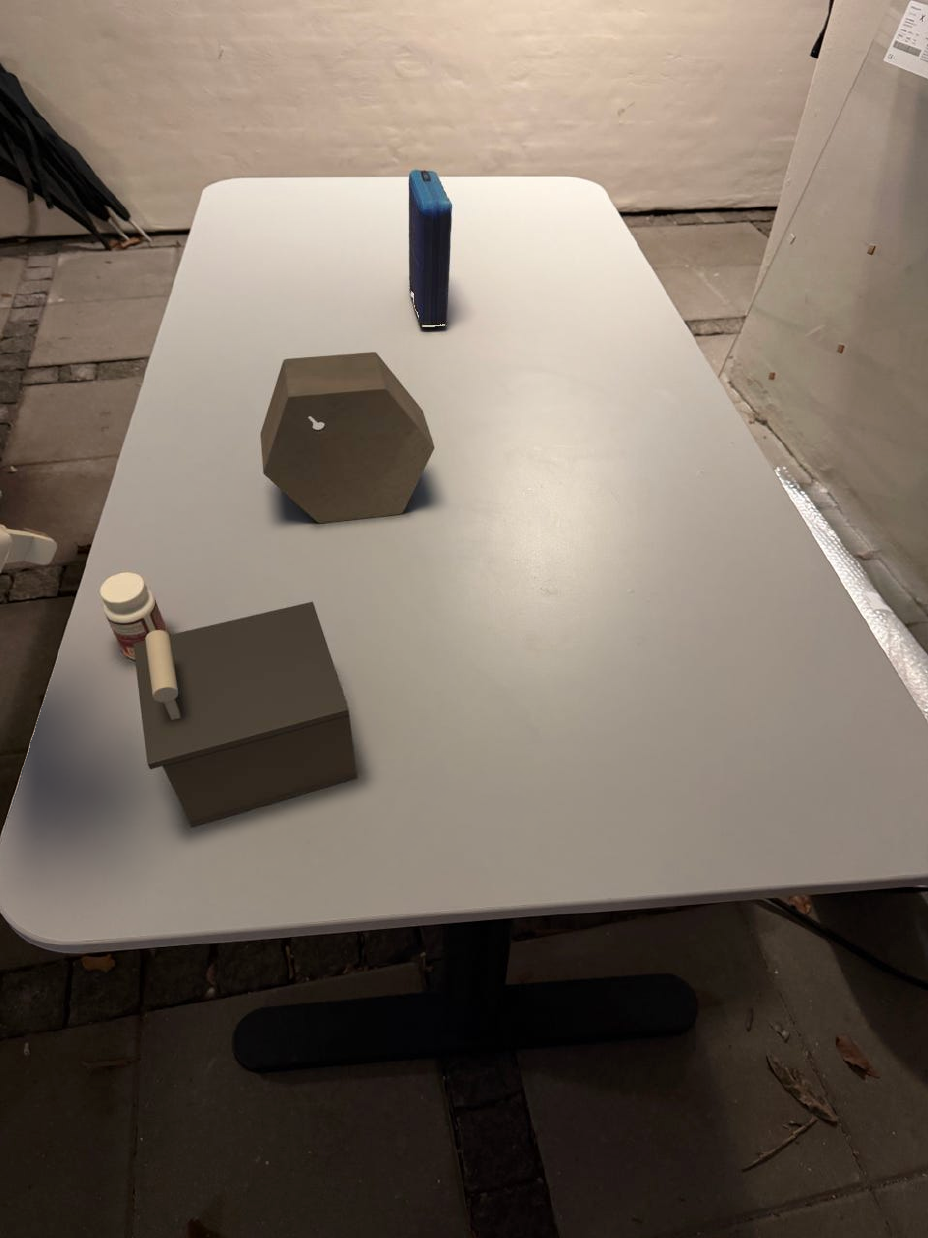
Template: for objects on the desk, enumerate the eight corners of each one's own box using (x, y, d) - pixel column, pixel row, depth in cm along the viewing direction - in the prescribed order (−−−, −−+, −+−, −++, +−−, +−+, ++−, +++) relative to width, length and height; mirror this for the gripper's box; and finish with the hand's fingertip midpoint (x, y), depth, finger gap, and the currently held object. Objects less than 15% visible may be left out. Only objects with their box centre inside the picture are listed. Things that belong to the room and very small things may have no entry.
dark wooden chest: (191, 827, 66) (162, 767, 59) (174, 712, 74) (146, 646, 67) (357, 778, 70) (349, 715, 63) (324, 674, 78) (313, 607, 70)
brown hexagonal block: (446, 439, 97) (345, 313, 83) (459, 476, 92) (354, 349, 78) (339, 509, 102) (225, 401, 87) (346, 548, 97) (227, 441, 82)
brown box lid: (150, 770, 59) (131, 732, 55) (135, 649, 66) (118, 608, 63) (349, 715, 63) (344, 676, 59) (313, 607, 70) (307, 566, 67)
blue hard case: (405, 293, 134) (403, 165, 119) (436, 291, 135) (437, 164, 120) (418, 334, 125) (418, 201, 110) (451, 332, 125) (454, 199, 111)
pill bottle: (146, 620, 82) (123, 562, 75) (179, 638, 80) (159, 581, 74) (111, 649, 79) (84, 591, 73) (145, 669, 77) (120, 612, 71)
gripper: (-163, 472, 36) (108, 541, 48) (-253, 355, 47) (-16, 434, 59) (-209, 591, 37) (68, 631, 49) (-287, 449, 48) (-47, 509, 60)
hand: (21, 522), depth 54 cm, fingers open, 8 cm apart
